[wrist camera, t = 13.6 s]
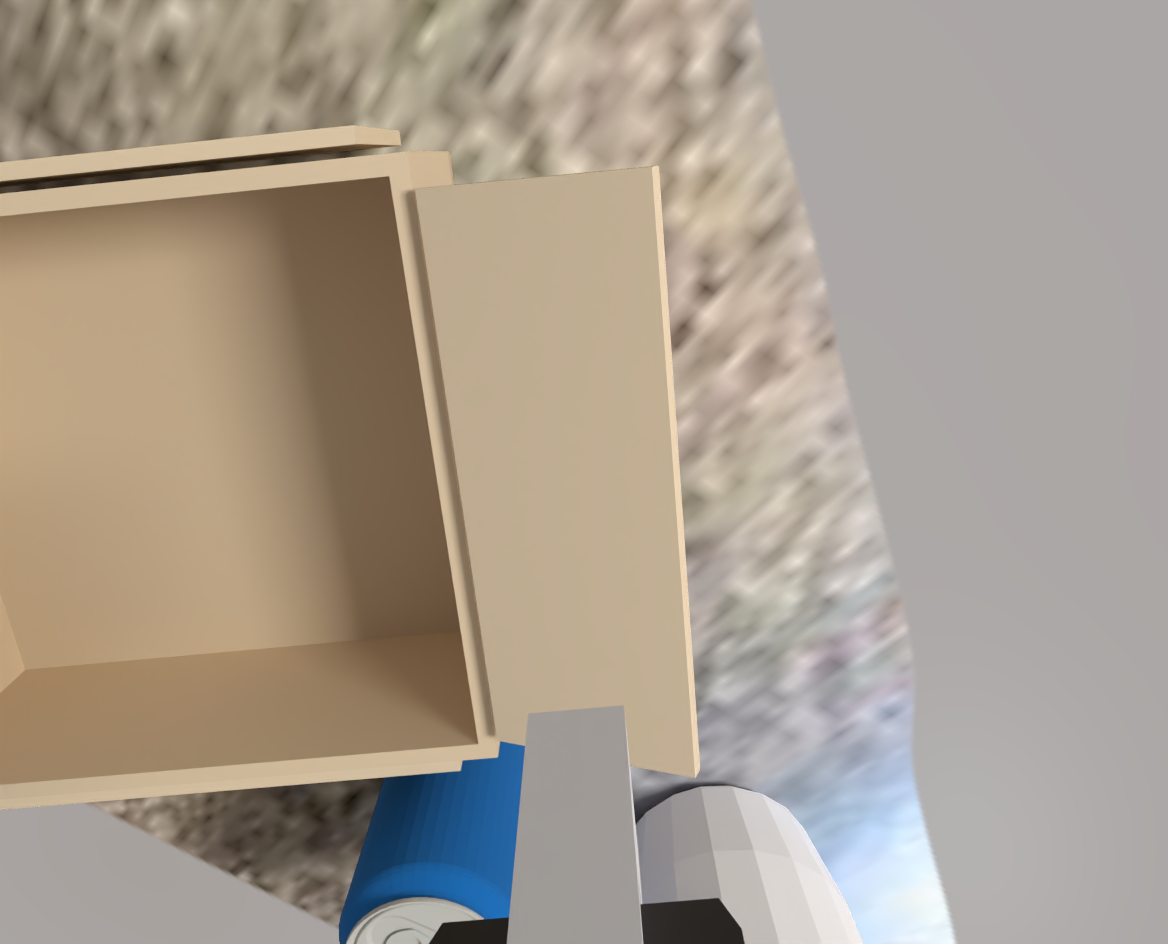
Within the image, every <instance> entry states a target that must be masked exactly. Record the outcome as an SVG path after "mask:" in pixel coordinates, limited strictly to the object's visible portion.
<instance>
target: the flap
mask: <svg viewBox="0 0 1168 944" xmlns="http://www.w3.org/2000/svg"><path fill="white" fill-rule="evenodd" d="M415 193H416V200H417V206H418V213H419V220H420V226H421V233H422V240H423V247H424V253H425V260H426V267H427V273H428V280H429V287H430V293H431V300H432V307H433V314H434V320H435V327H436V334H437V340H438V347H439V354H440V360H441V367H442V374H443V380H444V387H445V394H446V401H447V407H448V414H449V421H450V427H451V434H452V441H453V447H454V454H455V461H456V468H457V474H458V481H459V488H460V494H461V501H462V508H463V514H464V521H465V528H466V535H467V541H468V548H469V555H470V561H471V568H472V575H473V581H474V588H475V595H476V601H477V608H478V615H479V622H480V628H481V635H482V642H483V648H484V655H485V662H486V668H487V675H488V682H489V689H490V695H491V702H492V709H493V715H494V722H495V729H496V735H497V741H502V742H507V743H512V744H518V745H523V746H525V742H526V731H527V721H528V714H529V713H540V712H552V711H564V710H575V709H587V708H598V707H610V706H621V705H624V711H625V721H626V731H627V741H628V752H629V762H630V766H634V767H639V768H644V769H650V770H655V771H660V772H665V773H671V774H676V775H681V776H686V777H692V778H696V776H697V774H698V772H699V770H700V760H699V745H698V730H697V716H696V701H695V687H694V672H693V658H692V643H691V629H690V614H689V600H688V585H687V571H686V556H685V542H684V527H683V513H682V498H681V483H680V469H679V454H678V440H677V425H676V411H675V396H674V382H673V367H672V353H671V338H670V324H669V309H668V295H667V280H666V265H665V251H664V236H663V222H662V207H661V193H660V178H659V166H651V167H640V168H629V169H619V170H608V171H597V172H586V173H575V174H565V175H554V176H543V177H532V178H522V179H511V180H500V181H489V182H479V183H468V184H457V185H446V186H435V187H425V188H417V189H415Z"/></svg>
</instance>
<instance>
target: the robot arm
mask: <svg viewBox="0 0 1168 944" xmlns="http://www.w3.org/2000/svg"><path fill="white" fill-rule="evenodd" d="M429 944H745V942H744V937H743V933H742V928H741V927H740V926H739V924H738V923H737V922H736V920H735V919H734V918H733V916H732V915H731V914H730V912H729V911H728V910H727V908H726V907H725V906H724V904H723V903H722V902H721V900H720V899H719V898H711V899H699V900H686V901H674V902H662V903H649V904H642V892H641V880H640V868H639V856H638V844H637V834H636V824H635V813H634V803H633V793H632V783H631V772H630V762H629V752H628V741H627V731H626V721H625V711H624V705H621V706H610V707H598V708H587V709H575V710H564V711H552V712H540V713H529V714H528V721H527V731H526V742H525V753H524V764H523V774H522V785H521V796H520V806H519V817H518V828H517V839H516V849H515V860H514V871H513V881H512V892H511V903H510V914H509V917H507V918H495V919H483V920H470V921H458V922H445V923H442V924H441V926H440V927H439V929H438V931H437V932H436V934H435V935H434V937H433V938H432V940H431V941H430V943H429Z"/></svg>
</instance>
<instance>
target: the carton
mask: <svg viewBox="0 0 1168 944" xmlns="http://www.w3.org/2000/svg"><path fill="white" fill-rule="evenodd" d="M400 145H401V141H400V134H399V130H391V129H382V128H373V127H364V126H355V125H352V126H342V127H332V128H323V129H313V130H304V131H294V132H285V133H275V134H266V135H256V136H247V137H237V138H228V139H218V140H209V141H199V142H190V143H180V144H171V145H161V146H152V147H142V148H132V149H123V150H113V151H104V152H94V153H85V154H75V155H66V156H56V157H47V158H37V159H28V160H18V161H9V162H0V187H6V186H16V185H26V184H35V183H45V182H54V181H64V180H74V179H83V178H93V177H102V176H112V175H122V174H131V173H141V172H150V171H160V170H170V169H179V168H189V167H198V166H208V165H218V164H227V163H237V162H246V161H256V160H266V159H275V158H285V157H294V156H304V155H314V154H323V153H333V152H342V151H352V150H362V149H371V148H381V147H390V146H400ZM446 185H454V178H453V171H452V164H451V156H450V151H407V152H397V153H388V154H378V155H368V156H359V157H349V158H340V159H330V160H320V161H311V162H301V163H291V164H282V165H272V166H263V167H253V168H243V169H234V170H224V171H215V172H205V173H195V174H186V175H176V176H166V177H157V178H147V179H138V180H128V181H118V182H109V183H99V184H90V185H80V186H70V187H61V188H51V189H41V190H32V191H22V192H13V193H3V194H0V810H3V809H14V808H25V807H26V808H27V807H38V806H50V805H61V804H74V803H86V802H98V801H110V800H121V799H133V798H145V797H157V796H169V795H181V794H192V793H204V792H216V791H228V790H240V789H252V788H264V787H275V786H287V785H299V784H311V783H323V782H335V781H347V780H358V779H370V778H382V777H394V776H406V775H418V774H430V773H441V772H453V771H461V766H462V761H463V760H474V759H486V758H497V757H498V753H499V746H500V741H497V735H496V729H495V722H494V715H493V709H492V702H491V695H490V689H489V682H488V675H487V668H486V662H485V655H484V648H483V642H482V635H481V628H480V622H479V615H478V608H477V601H476V595H475V588H474V581H473V575H472V568H471V561H470V555H469V548H468V541H467V535H466V528H465V521H464V514H463V508H462V501H461V494H460V488H459V481H458V474H457V468H456V461H455V454H454V447H453V441H452V434H451V427H450V421H449V414H448V407H447V401H446V394H445V387H444V380H443V374H442V367H441V360H440V354H439V347H438V340H437V334H436V327H435V320H434V314H433V307H432V300H431V293H430V287H429V280H428V273H427V267H426V260H425V253H424V247H423V240H422V233H421V226H420V220H419V213H418V206H417V200H416V193H415V189H417V188H425V187H435V186H446Z"/></svg>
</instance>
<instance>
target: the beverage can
mask: <svg viewBox="0 0 1168 944" xmlns="http://www.w3.org/2000/svg"><path fill="white" fill-rule="evenodd" d="M524 753H525V746H523V745H518V744H512V743H507V742H502V741H500V746H499V753H498V757H497V758H486V759H474V760H463V761H462V766H461V771H453V772H441V773H430V774H418V775H406V776H394V777H384V781H383V784H382V787H381V790H380V793H379V797H378V800H377V803H376V806H375V809H374V812H373V816H372V819H371V822H370V825H369V828H368V832H367V835H366V838H365V841H364V844H363V847H362V851H361V854H360V857H359V860H358V863H357V867H356V870H355V873H354V876H353V879H352V882H351V886H350V889H349V892H348V895H347V898H346V901H345V905H344V908H343V911H342V914H341V918H340V924H339V941H340V944H429V943H430V941H431V940H432V938H433V937H434V935H435V934H436V932H437V931H438V929H439V927H440V926H441V924H442V923H445V922H458V921H470V920H483V919H495V918H507V917H509V914H510V903H511V892H512V881H513V871H514V860H515V849H516V839H517V828H518V817H519V806H520V796H521V785H522V774H523V764H524Z"/></svg>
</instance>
